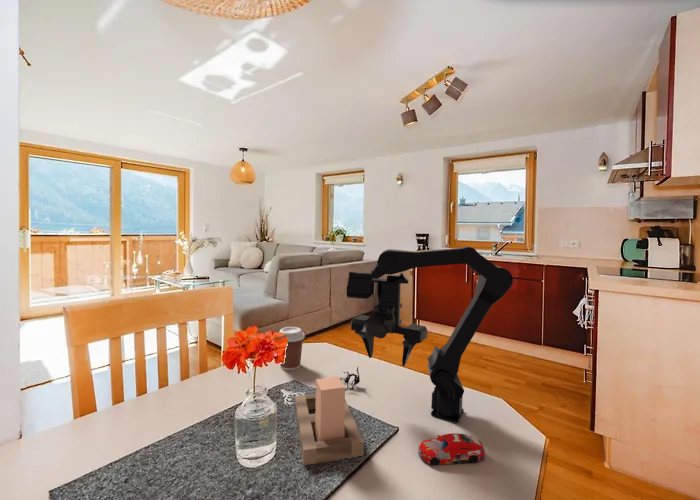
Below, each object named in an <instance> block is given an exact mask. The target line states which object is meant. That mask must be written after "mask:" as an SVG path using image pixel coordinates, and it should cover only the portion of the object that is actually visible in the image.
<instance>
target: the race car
mask: <svg viewBox="0 0 700 500" xmlns="http://www.w3.org/2000/svg"><path fill="white" fill-rule="evenodd" d="M418 456H419V458H420V459H421V460H422V461H423V462H425V463H426V464H428V465H430V466H431V467H433V466H434V467H436V466H439V465H442V466H443V465H455V464H468V463H469V464H477V463H479V462H482V461H483V460H484V459H485V457H486V451H485V448H484V445H483V444H482V442H481V441H480V440H479V438H478V437H476V436H473V435H470V434H465V433H455V432H454V433H453V432H452V433H445V434H441V435H440V434H437V437H434V438H429V439H425V440H423V441H421V442H420V444H419V446H418Z"/></svg>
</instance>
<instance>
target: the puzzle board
mask: <svg viewBox="0 0 700 500" xmlns="http://www.w3.org/2000/svg"><path fill="white" fill-rule="evenodd" d="M313 409H314V410H313ZM315 409H316V393H311V394H310V393H309V394H301V395H295V396H294V412H295V417H296V423H297V424H296V425H297V433H298V438H299V446H300V451H301V458H302V459H301V460H302V465H303V466H306V465H313V464H315V465H316V464H320V463H327V462H333V461H340V459H342V460H346V459H345V458H349V459H352V458H351V457H355V458H357V457H356V456H362V457H364V456H365V454H364V453H365V451H364V450H365V441H364V439H363V436H362V435H361V432H360V430H359V427H358V425H357V423H356V420H355V418H354V416H353V413H352V412H351V410H350V407H349V405H348V402H347V400H346V399H345V417H344V438H340V439H333V440H325V441H318V442H316V439H315V413H309V411H316V410H315ZM363 455H364V456H363Z"/></svg>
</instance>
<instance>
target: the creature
mask: <svg viewBox="0 0 700 500" xmlns="http://www.w3.org/2000/svg"><path fill="white" fill-rule="evenodd" d="M342 373H344V375H346V376H345V377H344V376H343V377H339V378H340V380H341V381H342V383H343V385H344V386H346V387H345V392H346V391H347V390H349V384H350V385H352V387H351V388H350V390H354V387H355V386H356V385H358V384H359V383H360V381H361V380H360V373H359V366H357V368H356V373H357V374H355V373H351V374H349V373H350V372H348V371H343V370H342ZM353 376H354V378H353V380H352V381H351V382H350V379H351V377H353ZM343 381H344V382H343Z"/></svg>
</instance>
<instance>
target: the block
mask: <svg viewBox="0 0 700 500" xmlns="http://www.w3.org/2000/svg"><path fill="white" fill-rule="evenodd" d="M340 378H341V377H339V376H333V377H326V378H325V377H323V378H316V379H315V394H316V410H315V412H314V414H315V435H314V439H315V442H318V441H325V440H333V439H340V438H344V417H345V400H346V397H345V396H346V391H345V390H346V389H345V388H346V385H345V384H344V382H343V380H340ZM342 382H343V383H342Z"/></svg>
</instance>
